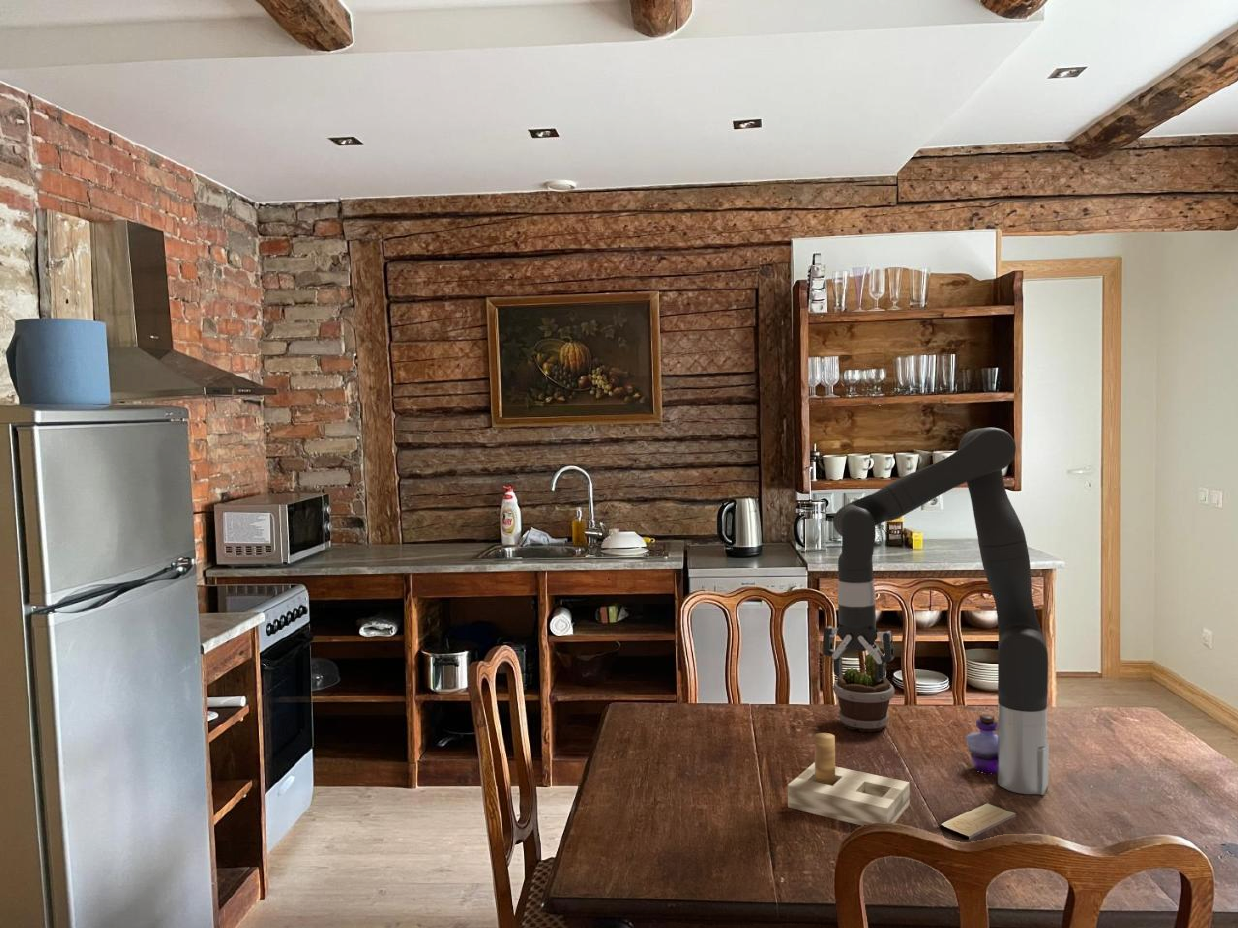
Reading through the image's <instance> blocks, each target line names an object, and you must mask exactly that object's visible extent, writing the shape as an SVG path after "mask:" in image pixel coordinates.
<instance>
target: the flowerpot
mask: <svg viewBox="0 0 1238 928" xmlns="http://www.w3.org/2000/svg"><path fill="white" fill-rule="evenodd" d="M863 658H864V659H862V662H863V663H862V666H863V669H859V670H858V668H854V664H853V665H852V667H851V666H849V668H844V674H842V676H841V677H837V680H835V682H833V687H832V688H831V689H832V690H833V693H834V694H835V695H836V696H837V700H838V705H839V709H840V710H839V711H838V718H839V720H840V722H842V724H843V726H844V727H845V728H848V729H849V730H858V731H859V732H860V733H861V732H863V733H864V732H867V733H874V732H879V731H882V729H884V727H885V726H886V725H887V724H888V722H889V719H890V716H889V714H888V713H889V712H887V711H888V710H889V706H890V705H889V704H890V700H891V699H893V698H894V696H895V691H896V689H895V688H894V685H892V683H891V682H890V681H889V680H888V679H887V677H886V676H885V677H884V678H883V679H882V681H881V682H878V681H876V664H877V662H876V661H875V659H874V658H873V657H872V656H871V655H870V654H869V653H867V654H864V657H863ZM887 672H888V671H887V664H885V673H887Z"/></svg>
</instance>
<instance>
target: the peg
mask: <svg viewBox="0 0 1238 928" xmlns="http://www.w3.org/2000/svg"><path fill="white" fill-rule="evenodd" d="M814 762H815V782H817V783H822V784H826V785H831V786H833V785H834V784H835V766H836V736H835V735H834V734H832V733H828V732H819V733H815V734H814Z"/></svg>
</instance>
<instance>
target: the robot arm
mask: <svg viewBox="0 0 1238 928" xmlns="http://www.w3.org/2000/svg"><path fill="white" fill-rule="evenodd" d="M1016 452H1017V448H1016V442H1015V439H1014V438H1013V437H1012V435H1011V434H1010V433H1009V432H1007V431H1006V430H1004V429H1001V428H997V427H983V428H976V429H972V430H970V431H968V432H966V433H965V434H964V435H963V436H962V438H961V439H960V442H959V444H958V450H957V451H955V452H953V453H952V454H950V455H949V456H947V457H945V458H943V459H941V460H939V461H937V462H935V463H932V464H930V465H928V466H925V467H923V468H920V469H918V470H915V471H913V472H911V473H909V474H907V475H904V476H902V477H900V478H898V479H896V480H894V481H892V482H891V483H889V484H887V485H885V486H883V487H882V488H880V489H879V490H877V491H876V492H873V493H872V494H868V495H866V496H862V497H861V498H857V499H856V500H853V501H851V502H849V503H846V504H845V505H844V506H842V507H841V508H839V509H838V510H837V511H836V513H835V514H834V516H833V521H832V522H833V523H832V524H833V528H834V530H835V531H836V532H837V534H838V535H840V536H841V553H840V554H839V555H838V561H837V573H838V574H837V575H838V577H837V579H838V586H837V599H836V600H837V606H838V608H837V609H838V612H837V613H838V614H837V615H838V627H834V626H833V625H828V626H826V627H825V628H824V629H823V654H824V655H825V656H826V657H827V656H828V657H830V658H831V659H832V666H833V667H832V669H833V670H832V671H833V674H835V677H837V678H838V677H841V676H842V675H844V674H843V672H844V671H843V657H841V656H842V655H843V654H844V652H845V651H846V649H848V650H849V651H856V650H857V651H859V652H865V651H866V652H867V654H870V655H871V656H872V657H873V658H874V659H875V661H876V662H877V664H876V681H878V682H881V681H882V679H883V678H884V677H885V678H886V669H885V668H886V666H885V665H886V663H890V662H891V661H893V660H894V658H895V651H894V642H893V632H892V630H886V631H878V629H877V618H876V617H877V615H876V591H875V590H876V589H875V584H874V583H875V582H874V568H873V567H874V565H873V555H874V551H875V544H876V531H877V530H876V527H877V526H879V525H880V524H882V523H885V522H891V521H894V520H898V519H900V518H902V517H904V516H905V515H908V514H910V513H911V512H912V511H915V510H916V509H918V508H919V507H922V506H923V505H925V504H926V503H929V502H930V501H932V500H934V499H935V498H937V497H939V496H941V495H943V494H945V493H946V492H948V491H950V490H953V489H954V488H956V487H959V486H960V485H963V484H965V483H966V484H967V487H968V488H967V489H968V491H969V495H970V500H971V505H972V511H973V512H972V513H973V519H974V524H975V530H976V531H975V532H976V535H977V543H978V549H979V553H980V559H981V563H982V567H983V571H984V575H985V578H986V581H987V584H988V586H989V589H990V591H991V595H992V597H993V600H994V604H995V608H996V610H995V611H996V616H997V627H998V653H997V654H998V655H997V656H998V657H997V660H998V661H997V666H998V667H997V668H998V672H997V673H998V674H997V676H998V677H997V678H998V681H997V683H998V685H997V696H998V697H997V700H998V701H997V704H998V705H997V707H998V708H997V710H998V712H997V718H998V719H997V723H998V729H997V735H998V774H997V783H998V785H999V786H1000V787H1002V789H1005V790H1007V791H1010V792H1013V793H1015V794H1016V793H1018V794H1024V795H1040V796H1043V795H1045V793H1046V790H1047V788H1048V787H1049V752H1050V751H1049V744H1050V742H1049V740H1048V738H1047V734H1048V733H1047V730H1048V729H1047V726H1048V725H1047V724H1048V723H1047V722H1048V720H1047V718H1048V715H1047V714H1048V713H1047V712H1048V708H1047V707H1048V703H1047V702H1048V695H1049V694H1048V692H1049V689H1048V682H1049V681H1048V680H1049V654H1048V653H1049V652H1048V647H1047V643H1046V640H1045V637H1044V635H1043V633H1042V629H1041V627H1040V624H1039V620H1038V615H1037V613H1036V609H1035V605H1034V601H1033V593H1032V591H1033V590H1032V589H1033V587H1032V586H1033V585H1032V584H1033V583H1032V568H1031V559H1030V554H1029V549H1028V548H1029V547H1028V542H1027V539H1026V533H1025V530H1024V527H1023V525H1022V523H1021V521H1020V519H1019V516H1018V515H1017V512H1016V510H1015V509H1014V507H1013V505H1012V502H1011V501H1010V499H1009V496H1008V494H1007V491H1006V488H1005V483H1004V482H1005V481H1004V476H1003V475H1004V474H1003V470H1004V469H1005V468H1007V467H1008V466H1009V465H1010V464H1011V462H1012V461H1013V460H1014V458H1015V456H1016ZM836 636H837V637H839V638H840V640H841V642H840V643H839V645H838V646H837V648H836V649H834V638H835V637H836ZM877 639H879V640H880V642H881V643H882V644H883V651H884V653H883V651H881V648H880V647H879V645H878V643H876V640H877Z"/></svg>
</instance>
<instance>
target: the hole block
mask: <svg viewBox="0 0 1238 928" xmlns="http://www.w3.org/2000/svg"><path fill="white" fill-rule="evenodd" d="M910 784H911V783H910V781H905V780H900V779H895V778H892V777H891V778H890V777H886V776H881V775H877V774H874V773H873V774H872V773H867V772H864V771H858V770H854V769H849V768H845V767H841V766H840V767H839V766H836V765H835V784H834V785H833V786H831V785H826V784H822V783H817V782H815V761H814V762H813V763H812V764H811V765H809V767H807V768H806V769H805V770H803V772H801V773H800V774H799V775H798V776H796V778H794V779H793V780H792V781H791V782H789V784H787V807H788V808H790V809H795V810H798V811H802V812H805V813H806V812H807V813H809V814H814V815H817V816H818V815H819V816H822V817H826V818H830V819H834V820H838V821H842V822H845V823H851V824H855V825H858V826H862V827H865V826H864V825H867V824H874V823H894V824H895V823H896V822H897V821H898V820H899V818H900V817H901V816H902V814H903V813H904V812H905V811H906V809H907V808H908V807H909V806H910V805H911V803H910V802H911V801H910V797H911V796H910V793H911V792H910V791H911V790H910V787H911V785H910Z"/></svg>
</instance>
